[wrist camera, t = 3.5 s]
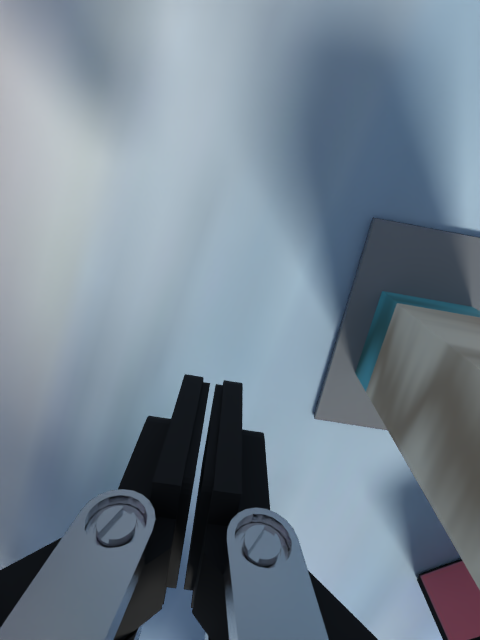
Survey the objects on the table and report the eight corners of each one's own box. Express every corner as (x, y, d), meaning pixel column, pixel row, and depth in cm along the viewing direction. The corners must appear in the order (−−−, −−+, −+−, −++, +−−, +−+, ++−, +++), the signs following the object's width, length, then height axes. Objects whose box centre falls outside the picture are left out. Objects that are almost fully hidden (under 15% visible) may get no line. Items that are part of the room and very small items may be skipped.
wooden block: (437, 386, 21) (653, 617, 10) (354, 373, 21) (482, 594, 10) (472, 306, 19) (780, 479, 8) (382, 291, 19) (575, 446, 8)
